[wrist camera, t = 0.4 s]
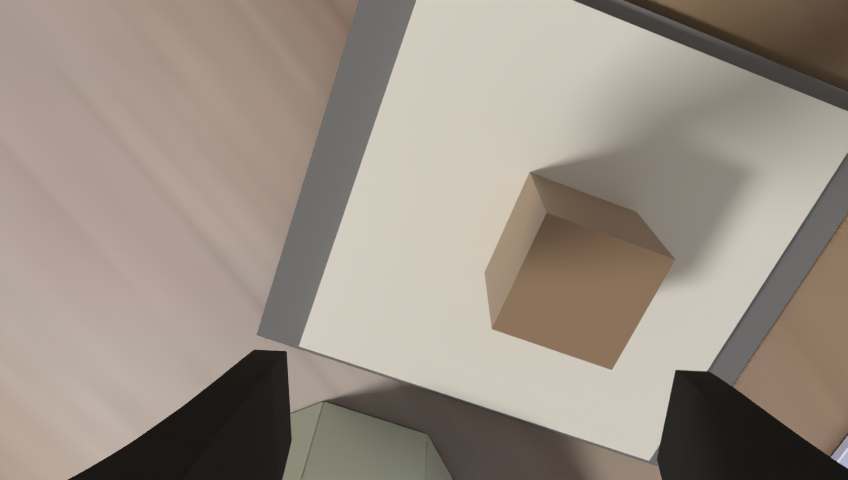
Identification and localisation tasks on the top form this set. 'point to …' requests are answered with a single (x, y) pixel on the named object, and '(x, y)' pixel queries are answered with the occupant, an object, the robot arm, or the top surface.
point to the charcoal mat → (351, 128)
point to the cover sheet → (592, 139)
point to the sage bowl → (357, 448)
